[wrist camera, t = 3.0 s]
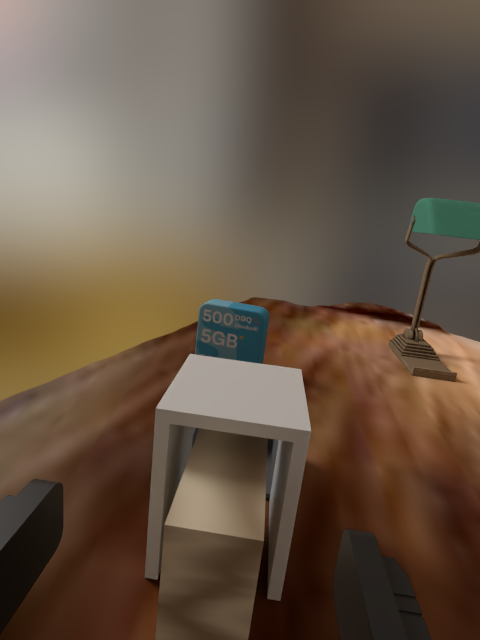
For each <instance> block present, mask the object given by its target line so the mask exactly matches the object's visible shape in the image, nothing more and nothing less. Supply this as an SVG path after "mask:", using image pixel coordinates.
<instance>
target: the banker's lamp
mask: <svg viewBox="0 0 480 640" xmlns="http://www.w3.org/2000/svg"><path fill="white" fill-rule="evenodd" d="M411 232H417V233H426V234H434V235H443V236H451V237H460V238H468V239H477V240H480V203H473V202H464V201H456V200H447V199H438V198H425V199H421V200H419V201H418V202H417V204H416V206H415V208H414V211H413V214H412V218H411V221H410V225H409V228H408V232H407V235H406V238H405V240H406V243H407V245H408V246H409V247H411V248H412V249H414V250H416V251H418V252H420V253H422V254H424V255H426V256H428V257H429V259H428V262H427V264H426V267H425V271H424V275H423V279H422V284H421V288H420V292H419V296H418V300H417V304H416V308H415V313H414V317H413V321H412V325H411V328H410V329H408V328H406V329H405V330H404V332H403V334H398V335H396V337H394V339H391V340H390V341H389V345H388V346H389V347H390V349H391V350H392V351H393V352H394V353H395V355H396V356H397V357H398V358H399V360H400V361H401V362H402V363H403V365H404V366H405V367H406V368H407V369H408V371H409V372H410V373H411V374H412V375H413V376H420V377H427V378H434V379H441V380H448V381H455V379H456V375H457V373H455V372H451V371H450V370H449V369H448V368H447V367H446V366H445V365H443V364H442V363H441V362H440V359H439V358H438V356H437V355H436V354H435V353H436V352H435V351H434V349H433V348H432V347H431V345H430V344H428V343H427V342H426V341H425V340H424V339H423V332H422V331H421V330H418V327H419V323H420V318H421V314H422V310H423V306H424V302H425V298H426V294H427V289H428V285H429V281H430V277H431V273H432V270H433V267H434V265H435V262H436V261H437V260H439V259H442V258H450V257H458V256H466V255H473V254H477V253H479V252H480V242H479V244H478V247H476V248H474V249H470V250H465V251H459V252H454V253H448V254H443V255H438V256H436V257H434V258H433V259H432V257H431V256H430V255H429V254H428V253H426V252H424V251H423V250H421V249H420V248H418V247H417V246H415V245H413V244H412V243H410V242H409V241H408V240H409V237H410V234H411Z"/></svg>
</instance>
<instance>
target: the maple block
mask: <svg viewBox="0 0 480 640" xmlns="http://www.w3.org/2000/svg"><path fill="white" fill-rule="evenodd" d="M267 446H268V438H262V437H255V436H248V435H242V434H235V433H228V432H222V431H215V430H209V429H202V428H199V431H198V434H197V436H196V439H195V442H194V445H193V447H192V450H191V453H190V456H189V458H188V461H187V464H186V467H185V469H184V472H183V475H182V478H181V480H180V483H179V486H178V489H177V492H176V494H175V497H174V500H173V503H172V505H171V508H170V511H169V514H168V516H167V519H166V522H165V525H164V537H163V550H162V563H161V575H160V588H159V601H158V614H157V626H156V639H155V640H248V637H249V631H250V625H251V619H252V612H253V606H254V600H255V594H256V587H257V581H258V575H259V568H260V562H261V556H262V550H263V543H264V525H265V498H266V472H267Z"/></svg>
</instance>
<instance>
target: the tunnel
mask: <svg viewBox="0 0 480 640" xmlns="http://www.w3.org/2000/svg"><path fill="white" fill-rule="evenodd" d="M194 427H195V428H202V429H209V430H215V431H222V432H228V433H235V434H242V435H248V436H255V437H262V438H268V439H275V440H279V443H278V449H277V455H276V462H275V468H274V474H273V480H272V487H271V493H270V501H269V543H268V586H267V599H271V600H277V601H280V600H281V595H282V589H283V584H284V578H285V573H286V567H287V562H288V556H289V551H290V545H291V540H292V534H293V529H294V523H295V518H296V512H297V507H298V501H299V496H300V490H301V485H302V479H303V474H304V468H305V463H306V457H307V452H308V446H309V441H310V435H311V427H310V421H309V415H308V409H307V402H306V396H305V390H304V384H303V378H302V372H301V369H295V368H287V367H280V366H273V365H266V364H259V363H252V362H245V361H237V360H230V359H223V358H216V357H209V356H202V355H195V354H190V355H189V356H188V358H187V359H186V361H185V363H184V364H183V366H182V367H181V369H180V371H179V372H178V374H177V375H176V377H175V379H174V380H173V382H172V383H171V385H170V386H169V388H168V390H167V391H166V393H165V394H164V396H163V398H162V399H161V401H160V402H159V404H158V406H157V407H156V413H155V429H154V444H153V459H152V475H151V490H150V505H149V521H148V536H147V551H146V567H145V578H150V579H156V580H158V577H159V574H160V571H161V563H162V550H163V537H164V525H165V522H166V519H167V516H168V514H169V511H170V508H171V505H172V503H173V500H174V497H175V494H176V492H177V489H178V486H179V483H180V480H181V478H182V475H183V472H184V469H185V467H186V464H187V461H188V458H189V456H190V453H191V450H192V440H193V429H194Z"/></svg>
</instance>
